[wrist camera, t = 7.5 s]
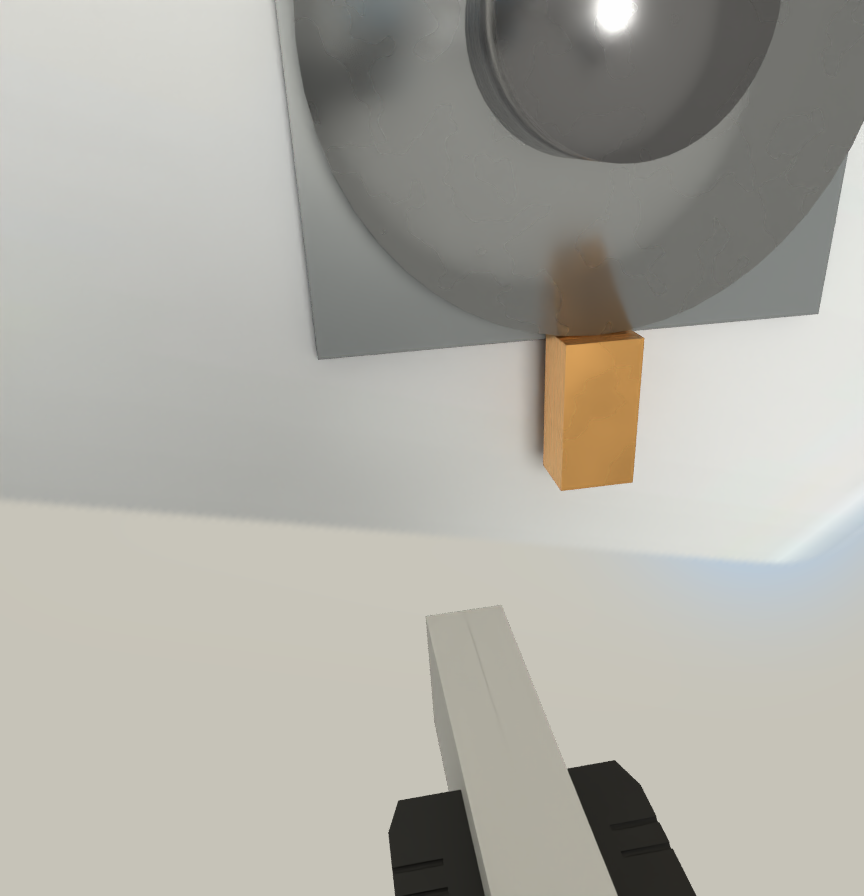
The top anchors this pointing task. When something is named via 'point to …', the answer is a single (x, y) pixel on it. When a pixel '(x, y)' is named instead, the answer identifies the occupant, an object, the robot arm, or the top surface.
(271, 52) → the top surface
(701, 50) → the dark grey bowl
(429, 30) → the turntable
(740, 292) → the base plate
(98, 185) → the top surface
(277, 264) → the top surface
